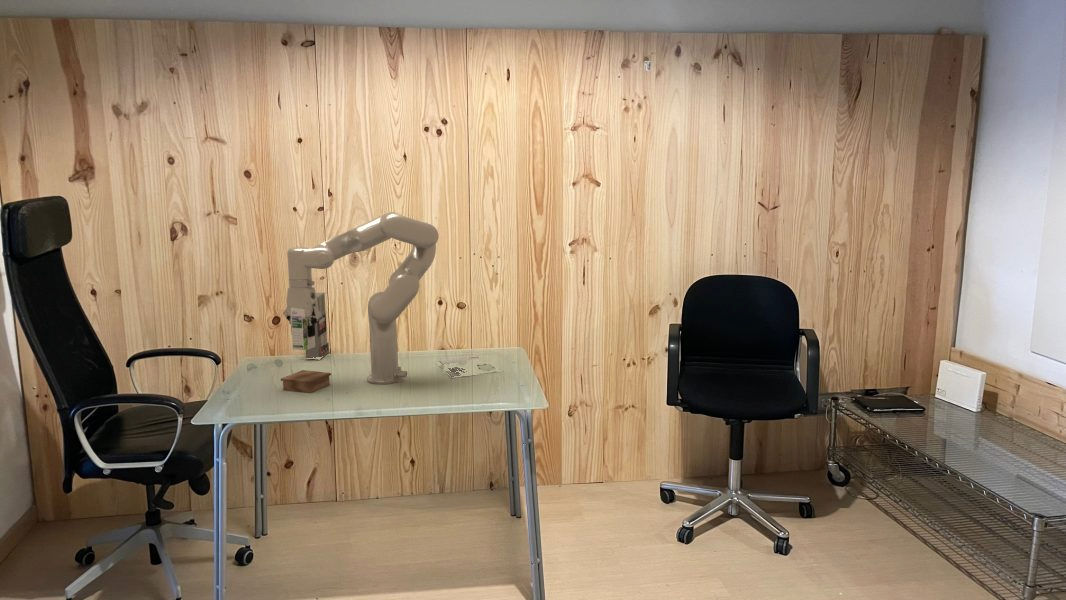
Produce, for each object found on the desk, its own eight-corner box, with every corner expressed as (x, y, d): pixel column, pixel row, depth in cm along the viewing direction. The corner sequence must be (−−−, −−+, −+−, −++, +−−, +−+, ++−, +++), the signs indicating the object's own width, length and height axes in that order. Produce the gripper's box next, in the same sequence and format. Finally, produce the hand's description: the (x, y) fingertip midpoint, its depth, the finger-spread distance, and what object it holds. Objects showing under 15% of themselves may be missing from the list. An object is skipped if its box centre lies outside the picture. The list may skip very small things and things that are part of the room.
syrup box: (291, 349, 264) (289, 307, 262) (301, 345, 270) (299, 304, 267) (306, 350, 262) (304, 308, 260) (316, 346, 268) (314, 305, 266)
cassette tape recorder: (321, 360, 306) (317, 298, 302) (305, 360, 306) (301, 298, 302) (329, 352, 320) (326, 292, 315) (315, 352, 320) (311, 292, 315)
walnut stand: (331, 383, 272) (331, 372, 271) (310, 393, 261) (309, 381, 260) (303, 380, 276) (302, 370, 275) (281, 389, 265) (280, 378, 264)
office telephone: (434, 359, 299) (484, 353, 306) (435, 365, 299) (484, 360, 307) (451, 372, 278) (503, 366, 285) (451, 379, 278) (503, 373, 285)
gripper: (328, 283, 263) (331, 335, 266) (287, 281, 269) (289, 331, 272) (314, 286, 256) (317, 339, 259) (272, 284, 262) (275, 336, 265)
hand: (303, 335), depth 265 cm, fingers closed on syrup box, 5 cm apart
